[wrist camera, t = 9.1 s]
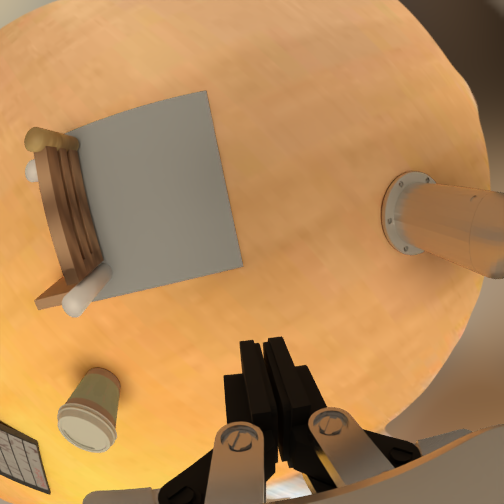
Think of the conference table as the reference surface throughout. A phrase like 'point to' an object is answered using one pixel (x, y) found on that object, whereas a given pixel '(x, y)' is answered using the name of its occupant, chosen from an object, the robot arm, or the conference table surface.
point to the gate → (65, 202)
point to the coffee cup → (91, 412)
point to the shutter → (21, 459)
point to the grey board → (150, 201)
